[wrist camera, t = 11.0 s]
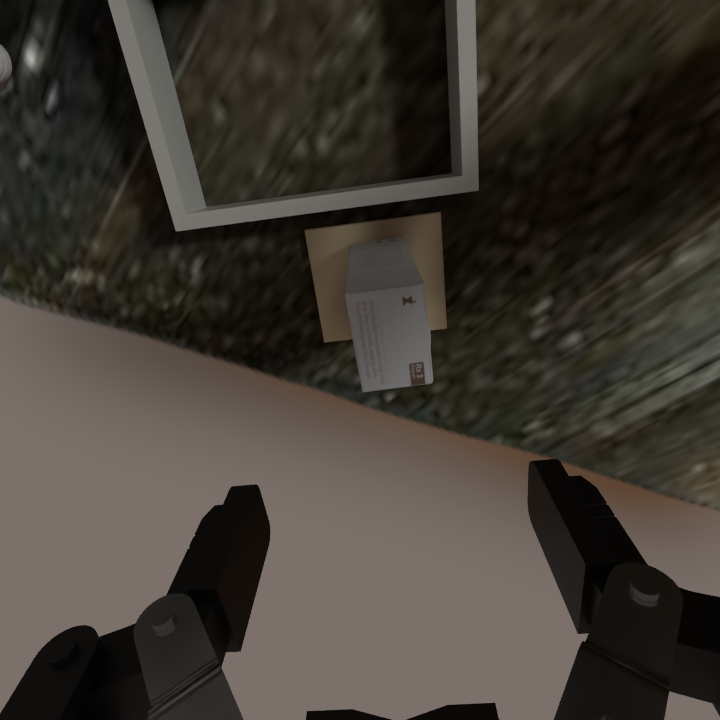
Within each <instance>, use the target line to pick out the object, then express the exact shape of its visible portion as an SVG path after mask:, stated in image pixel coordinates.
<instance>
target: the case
mask: <svg viewBox="0 0 720 720" xmlns="http://www.w3.org/2000/svg"><path fill="white" fill-rule="evenodd" d="M108 3H109V6H110V10H111V13H112V17H113V20H114V23H115V27H116V30H117V34H118V37H119V40H120V44H121V47H122V51H123V54H124V57H125V61H126V64H127V67H128V71H129V74H130V78H131V81H132V84H133V88H134V91H135V95H136V98H137V101H138V105H139V108H140V112H141V115H142V118H143V122H144V125H145V128H146V132H147V135H148V139H149V142H150V145H151V149H152V152H153V156H154V159H155V162H156V166H157V169H158V173H159V176H160V179H161V183H162V186H163V190H164V193H165V196H166V200H167V203H168V206H169V210H170V213H171V217H172V220H173V223H174V227H175V230H176V231H183V230H191V229H198V228H205V227H213V226H220V225H228V224H235V223H242V222H250V221H257V220H265V219H272V218H279V217H287V216H294V215H302V214H309V213H317V212H324V211H331V210H339V209H346V208H354V207H361V206H368V205H376V204H383V203H391V202H398V201H405V200H413V199H420V198H428V197H435V196H442V195H450V194H457V193H465V192H472V191H479V176H478V121H477V67H476V12H475V0H445V20H446V44H447V68H448V93H449V117H450V141H451V165H452V173H448V174H441V175H434V176H427V177H420V178H412V179H405V180H398V181H391V182H383V183H376V184H369V185H362V186H355V187H347V188H340V189H333V190H326V191H318V192H311V193H304V194H297V195H289V196H282V197H275V198H268V199H261V200H253V201H246V202H239V203H232V204H224V205H217V206H210V207H206V205H205V201H204V197H203V193H202V189H201V186H200V182H199V178H198V174H197V170H196V166H195V163H194V159H193V155H192V151H191V147H190V144H189V140H188V136H187V132H186V128H185V124H184V121H183V117H182V113H181V109H180V105H179V101H178V98H177V94H176V90H175V86H174V82H173V79H172V75H171V71H170V67H169V63H168V59H167V56H166V52H165V48H164V44H163V40H162V36H161V33H160V29H159V25H158V21H157V17H156V14H155V10H154V6H153V2H152V0H108Z"/></svg>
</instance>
